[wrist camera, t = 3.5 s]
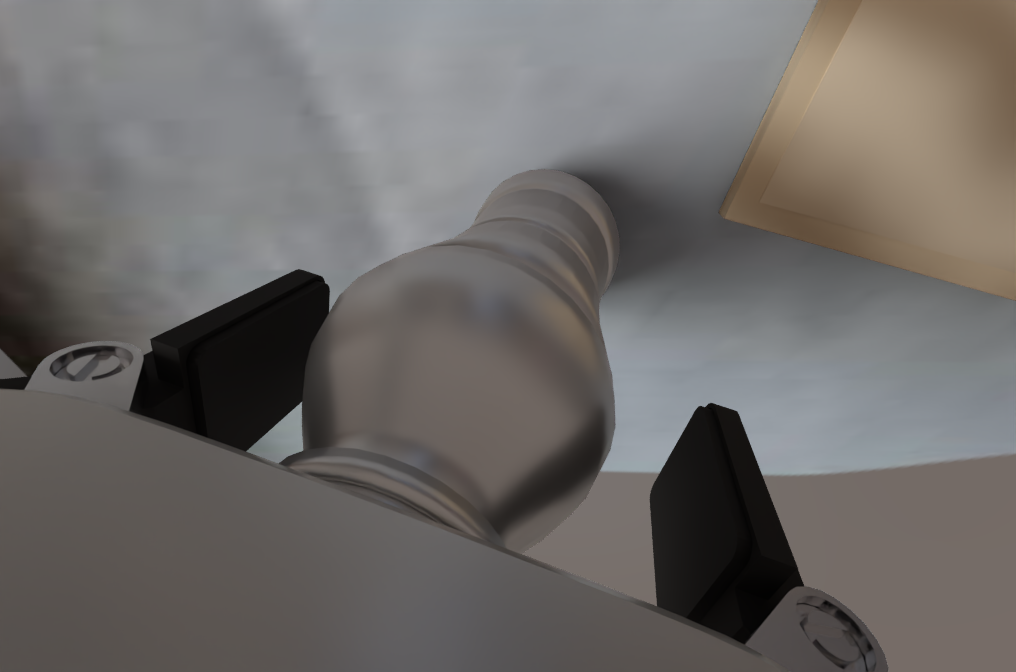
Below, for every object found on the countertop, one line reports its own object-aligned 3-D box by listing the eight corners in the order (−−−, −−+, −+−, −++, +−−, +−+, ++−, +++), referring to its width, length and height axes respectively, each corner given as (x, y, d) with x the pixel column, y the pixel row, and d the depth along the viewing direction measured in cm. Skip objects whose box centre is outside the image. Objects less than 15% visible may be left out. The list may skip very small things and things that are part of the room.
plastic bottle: (536, 314, 24) (334, 835, 7) (463, 209, 22) (-50, 564, 5) (644, 255, 22) (752, 871, 4) (572, 130, 20) (250, 323, 2)
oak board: (937, -252, 13) (967, -285, 12) (1471, -152, 12) (1558, -178, 11) (718, 212, 20) (724, 219, 19) (1041, 303, 19) (1067, 315, 18)
